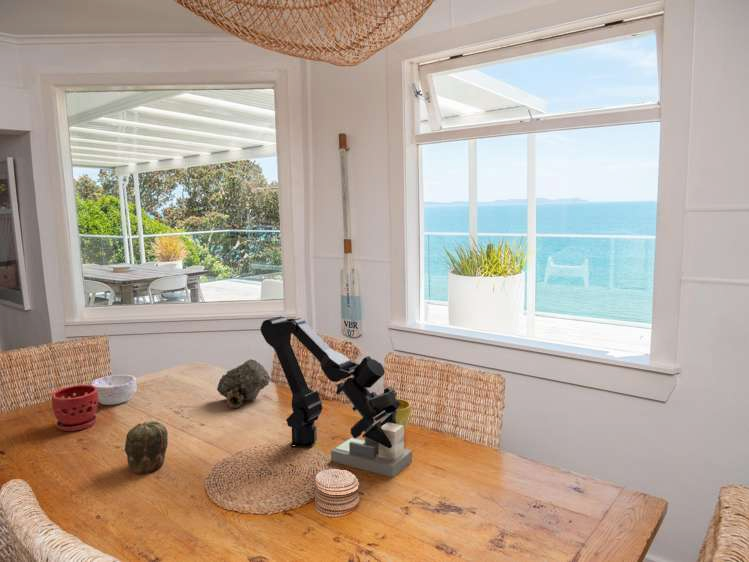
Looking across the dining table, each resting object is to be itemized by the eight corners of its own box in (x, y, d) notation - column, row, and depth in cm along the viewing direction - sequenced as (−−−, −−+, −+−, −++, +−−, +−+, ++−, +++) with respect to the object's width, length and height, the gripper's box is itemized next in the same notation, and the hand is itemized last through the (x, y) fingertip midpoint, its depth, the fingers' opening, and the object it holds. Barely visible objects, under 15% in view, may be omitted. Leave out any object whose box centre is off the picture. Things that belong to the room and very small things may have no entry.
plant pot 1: (44, 431, 173) (41, 394, 171) (80, 416, 185) (78, 382, 183) (74, 436, 168) (71, 399, 166) (109, 421, 180) (106, 386, 179)
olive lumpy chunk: (178, 460, 151) (175, 418, 150) (150, 478, 141) (147, 434, 139) (146, 454, 155) (144, 414, 153) (117, 472, 145) (113, 429, 143)
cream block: (378, 457, 145) (378, 428, 144) (387, 449, 149) (387, 422, 148) (395, 461, 143) (394, 432, 142) (403, 453, 147) (403, 425, 146)
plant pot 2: (408, 442, 161) (408, 410, 160) (374, 439, 163) (374, 408, 162) (412, 428, 171) (412, 399, 170) (380, 426, 173) (380, 397, 172)
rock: (251, 350, 205) (242, 353, 190) (277, 378, 204) (271, 383, 189) (214, 384, 203) (203, 390, 188) (241, 412, 203) (232, 420, 188)
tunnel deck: (331, 460, 150) (330, 440, 149) (352, 446, 159) (352, 426, 158) (392, 477, 140) (392, 455, 139) (412, 460, 149) (412, 440, 148)
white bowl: (125, 408, 193) (124, 386, 192) (83, 408, 193) (81, 386, 192) (144, 393, 208) (143, 373, 207) (105, 394, 208) (103, 374, 207)
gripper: (359, 390, 138) (398, 440, 133) (394, 371, 153) (430, 415, 149) (334, 414, 142) (371, 463, 138) (371, 393, 158) (404, 437, 154)
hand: (395, 443), depth 145 cm, fingers closed on cream block, 5 cm apart
